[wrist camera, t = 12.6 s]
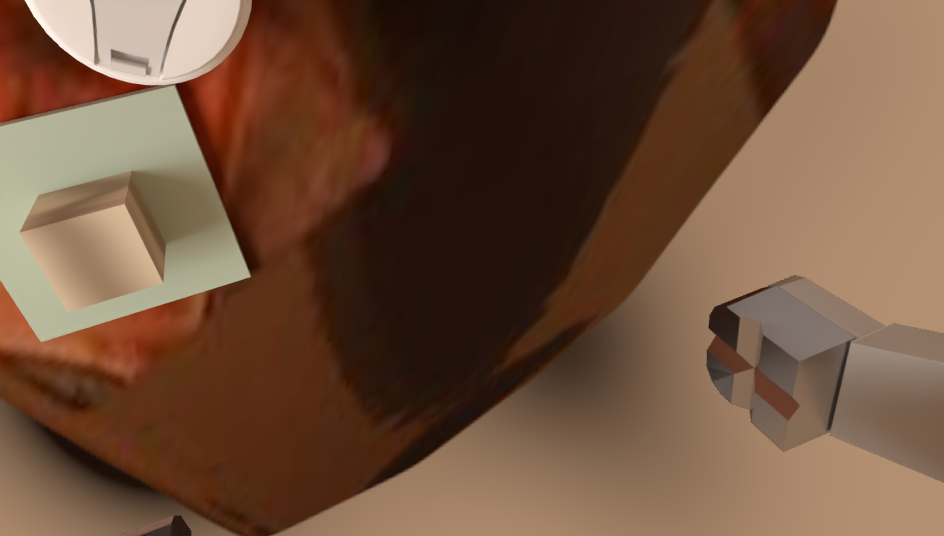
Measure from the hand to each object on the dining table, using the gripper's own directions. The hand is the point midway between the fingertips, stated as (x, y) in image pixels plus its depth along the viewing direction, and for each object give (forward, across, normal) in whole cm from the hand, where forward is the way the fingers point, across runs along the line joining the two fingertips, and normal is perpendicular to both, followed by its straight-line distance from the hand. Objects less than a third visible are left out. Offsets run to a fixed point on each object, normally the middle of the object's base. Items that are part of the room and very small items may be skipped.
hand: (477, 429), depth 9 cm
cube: (+33, +12, +8) cm, 36 cm away
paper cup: (+34, +4, -5) cm, 35 cm away
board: (+34, +12, +8) cm, 37 cm away
